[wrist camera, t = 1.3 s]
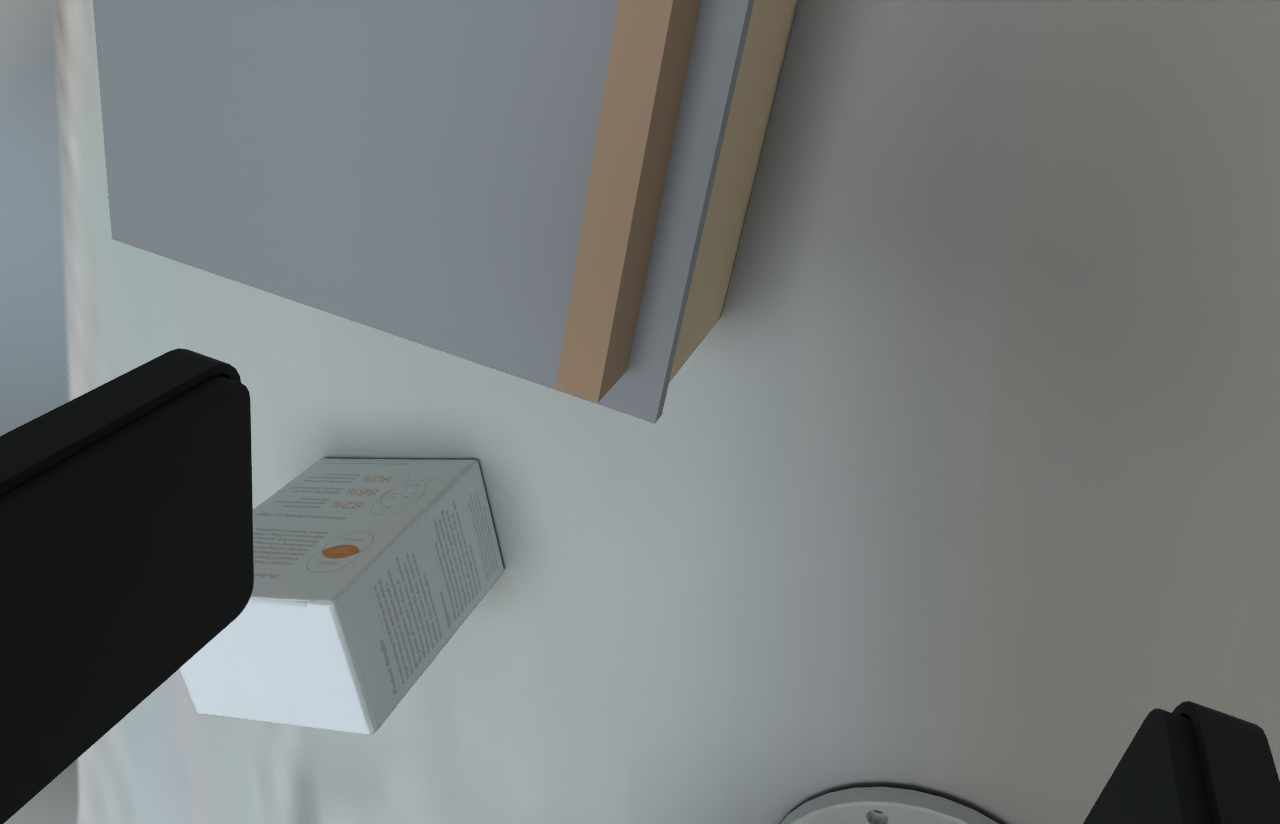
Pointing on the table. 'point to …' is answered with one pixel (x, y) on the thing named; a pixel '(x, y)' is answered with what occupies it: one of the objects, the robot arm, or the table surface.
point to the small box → (351, 593)
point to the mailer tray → (735, 170)
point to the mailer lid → (435, 166)
